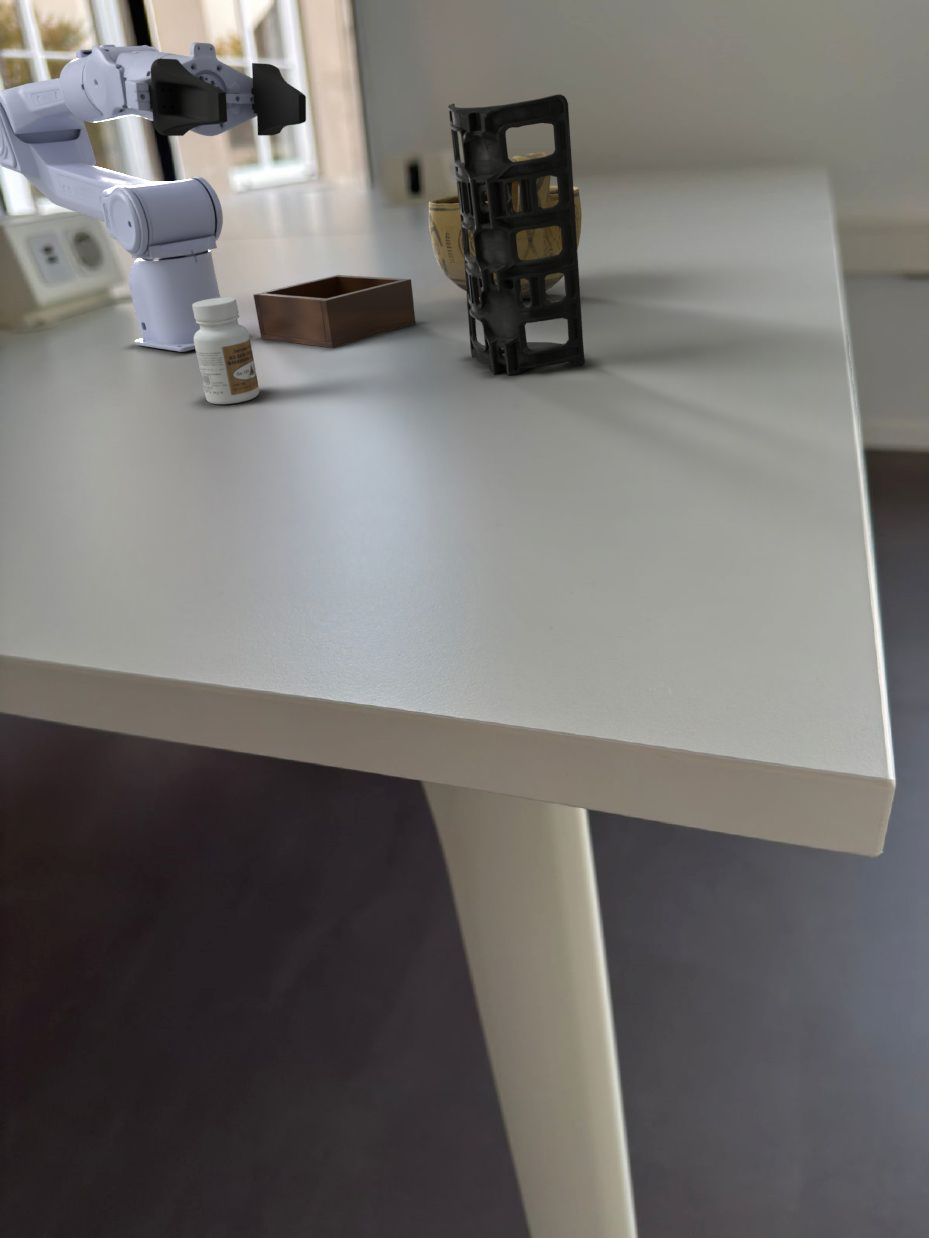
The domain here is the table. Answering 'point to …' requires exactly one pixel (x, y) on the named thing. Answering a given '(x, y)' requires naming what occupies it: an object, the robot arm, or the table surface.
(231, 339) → the pill bottle
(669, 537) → the table surface
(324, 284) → the box
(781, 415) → the table surface
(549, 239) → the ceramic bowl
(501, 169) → the holder
